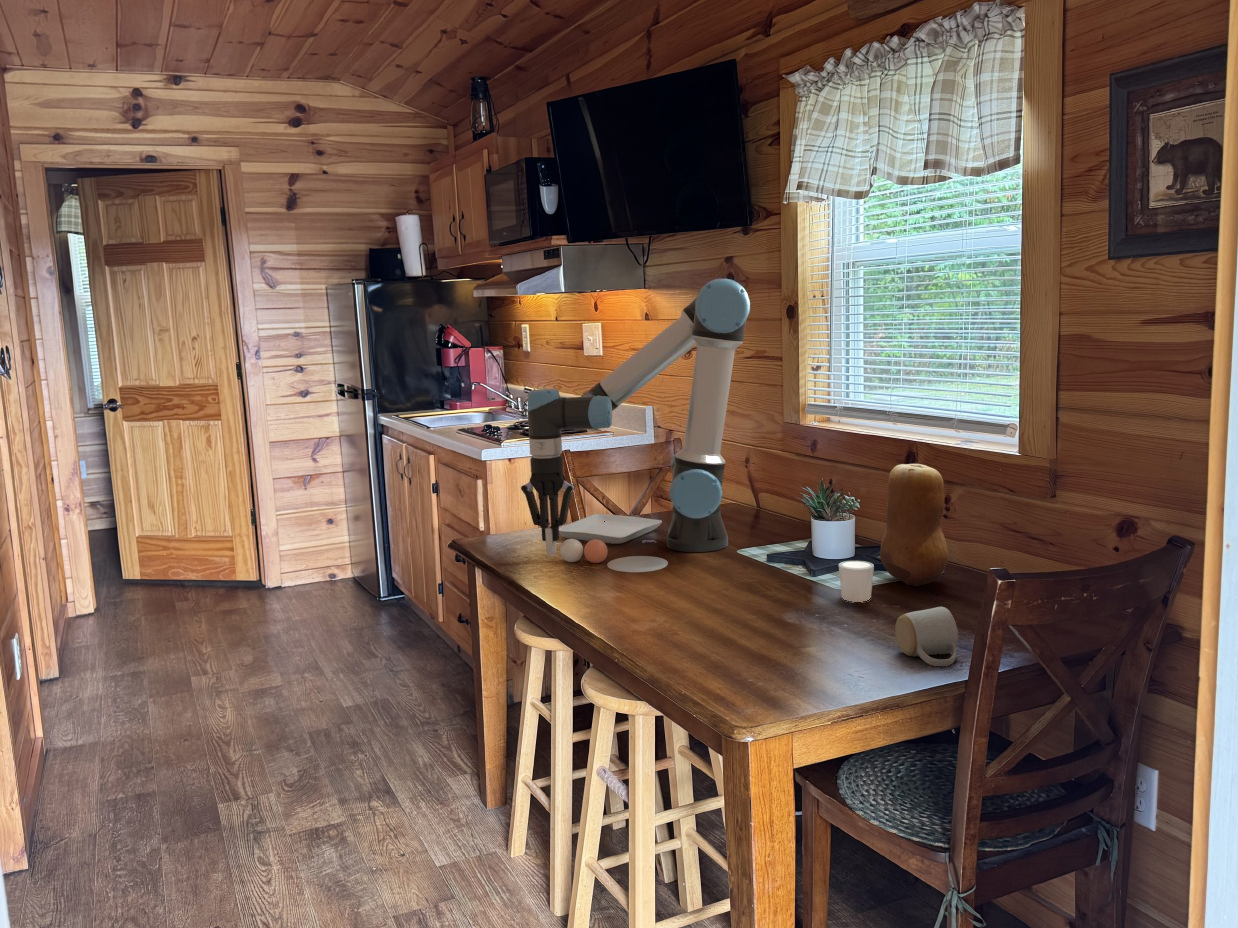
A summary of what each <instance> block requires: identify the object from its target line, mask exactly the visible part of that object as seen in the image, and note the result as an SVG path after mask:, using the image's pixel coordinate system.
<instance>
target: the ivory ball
mask: <svg viewBox="0 0 1238 928" xmlns="http://www.w3.org/2000/svg"><path fill="white" fill-rule="evenodd" d="M559 554H560V557H561V558H562V559H563V560H564V561H565V562H568V563H574V562H575V563H576V562H578V561H579V560H580V559H582V556H583V555H584V546H583V544H582V542H580V540H576V539H570V538H567V539H566V540H564V541H563V542H562V543H561V545H560V548H559Z"/></svg>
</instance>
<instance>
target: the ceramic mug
mask: <svg viewBox="0 0 1238 928" xmlns="http://www.w3.org/2000/svg"><path fill="white" fill-rule="evenodd" d="M894 630H895V631H894V633H895V638H896V642H897V645H898V647H899V649H900V650H901V652H902V653H904V654H905V655H906V656H908V657H916V656H917V657H920V659H921V660H922V661H924V662H925V663H926V664H928V665H930V666H932V665H933V667H936V666H946V665H949V666H951V665H952V664H953V663H954V662H955V660H956V657H957V648H958V644H959V643H958V642H959V631H958V626H957V624H956V621H955V618H954V616H953V615H952V613H951V611H950V609H948V608H947V607H944V606H937V607H932V608H927V609H921V610H915V611H911V612H907V613H904V614H902V615H900V616H899V617H898V618H897V620H896V622H895V626H894ZM948 653H949V654H951V656H950V657H948V658H947V659H938V658H935V657H932V656H936V655H937V654H939V655H946V654H947V655H948ZM950 664H951V665H950ZM935 665H936V666H935ZM946 667H947V666H946Z"/></svg>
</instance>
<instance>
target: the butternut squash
mask: <svg viewBox="0 0 1238 928" xmlns="http://www.w3.org/2000/svg"><path fill="white" fill-rule="evenodd" d="M941 474H942V473H940V472H939V471H938V470H937V469H935V468H933V467H930V466H928V465H925V464H920V463H908V464H907V463H906V464H905V463H902V464H897V465H896V466H894V467H893V468H892V470H891V471H890V472H889V475H888V479H887V486H886V487H887V491H886V492H887V505H886V523H885V524H886V526H885V528H884V529H885V530H884V532H883V536H882V538H881V544H880V550H879V551H880V552H879V553H880V554H879V559H880V561H881V563H882V565H883V567H884V568H885V569H886V572H888V573H889V575H890V576H892V578H894V579H897V580H899V581H901V582H903V583H904V584H905V585H907V586H911V585H912V587H916V586H918V587H920V586H922V585H926V584H931V583H933V582H935V581H936V580H937V579H938V578H939V577H940V575H941V574H942V573H943V572H944V570H945V569H946V566H947V564H948V560H949V549H948V544H947V542H946V541H947V540H946V539H945V535H944V533H943V531H942V526H941V523H942V522H941V520H942V517H943V513H944V506H945V492H944V490H945V488H944V487H945V485H944V483H945V482H944V479H943V476H942V475H941Z"/></svg>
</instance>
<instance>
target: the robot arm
mask: <svg viewBox="0 0 1238 928" xmlns="http://www.w3.org/2000/svg"><path fill="white" fill-rule="evenodd" d="M750 311H751V302H750V298H749V295H748V292H747V291H746V289H745V288H744V287H743V286H742V285H741V284H740V283H739V282H737V281H736V280H733V279H728V278H716V279H712V280H710V281H708V282H707V283H706V284H704V285H703V286H702V287H701V288H700V290H699V292H698V294H697V296H696V297H695V298H694V299H693V300H692V301H691V302H690V303H689V304H688V305H687V306H685V307H684V308H683V309H682V310H681V313H680V317H678V319H676V320H675V321H674V322H672V323H670V325H669V326H667V327H666V328H665V329H664V330H662V331H661V332H660V333H658V334H657V335H656V336H655V337H654V338H652V339H651V340H650V341H648V342H647V343H646V344H645V345H643V347H641V348H640V349H638V350H637V351H636V352H635V353H633V354H632V355H631V356H630V357H628V358H627V359H626V360H625V361H624V362H622V363H621V364H620V365H618V366H617V367H616V368H615V369H614V370H613V371H610V373H608V375H606V376H605V377H604V378H603V379H601V380H600V381H599V382H597V383H596V384H595V385H594V386H592V387H591V388H590V389H589V390H587V391H585V392H584V393H583V394H582V395H581V396H574V397H573V396H571V397H570V396H569V397H567V396H566V397H564V396H561V395H560V391H559V390H558V388H557V389H556V388H538V389H532V390H530V391H529V392H528V393H527V409H526V412H527V413H526V414H527V422H528V423H527V426H528V439H529V440H528V442H529V443H528V444H529V454H530V455H531V456H532V457H530V458H529V460H530V462H529V464H530V478H529V481H528V482H527V483H525V484H524V485H521V487H520V490H521V491H522V493H523V494H524V495H525V498H526V503H527V507H528V509H529V513H530V516H531V519H532V523H533V525H534V526H539V527H540V528H541V540H542V541H543V542H545V548H546V549H545V550H546V556H547V557H553V556H555V555H556V554H557V542H558V541H559V540H560V535H559V528H560V527H563V526H564V525H566V523H567V520H568V519H567V518H568V515H569V509H570V504H571V498H572V494H573V492H574V491H575V489H576V485H575V484H573V483H572V484H571V483H569V482H568V481H566V477H565V475H564V463H563V462H564V461H563V460H564V459H563V456H562V455H561V454H562V453H563V445H562V443H563V442H562V431H566V430H567V431H568V430H600V429H608V428H611V427H612V425H613V411H615V410H616V409H617V408H618V407H619V406H620V405H622V404H623V403H624V402H625V401H627V400H628V399H630V398H631V397H632V396H633V395H635V393H638V391H640V390H641V389H642V388H643V387H644V386H646V385H647V384H649V383H650V382H651V381H652V380H653V379H655V378H656V377H658V376H659V375H660V374H661V373H662V372H664V371H665V370H666V369H668V368H669V367H670V366H672V365H673V364H674V363H675V362H676V361H678V360H679V359H681V357H683V356H684V355H686V354H687V353H688V352H690V351H691V350H692V349H693V348H694V347H696V353H695V359H694V366H693V367H694V368H693V375H692V381H691V388H690V389H691V390H690V396H689V401H688V403H689V404H688V409H687V417H686V425H685V433H684V440H683V446H682V449H681V450H679V451H678V452H676V453H675V454H673V455H672V457H671V463H670V467H671V484H670V486H669V487H670V488H669V498H670V501H671V504H672V517H671V520H670V525H669V528H668V531H667V533H666V547H667V548H668V549H670V550H672V551H678V552H685V553H705V552H707V553H708V552H714V551H719V550H722V549H725V548H726V547H728V546H729V537H728V532H727V530H726V526H725V524H724V520H723V519H722V515H721V502H722V500H723V482H724V475H725V469H726V459H725V458H724V457H723V456H722V455H721V451H722V450H721V449H722V443H723V434H724V431H725V423H726V416H727V409H728V401H729V394H730V387H731V380H732V373H733V366H734V360H735V359H734V358H735V352H736V349H737V348H739V347H740V346H741V345H742V344H743V343H744V339H745V338H744V337H745V330H746V325H747V319H748V316H749V314H750ZM561 489H562V490H563V495H562V499H561V500H562V501H561V505H560V511H559V493H560V491H561ZM534 490H535V491H536V492H537V494H538V495H537V496H538V497H537V498H538V500H539V501H538V502H537V499H536V496H535V493H534ZM548 501H549V502H548ZM538 503H539V506H538ZM549 510H550V512H549ZM549 513H550V516H549ZM549 517H550V519H549Z"/></svg>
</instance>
